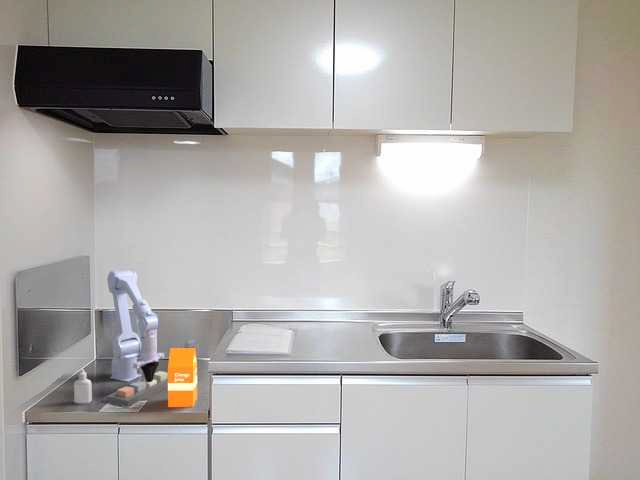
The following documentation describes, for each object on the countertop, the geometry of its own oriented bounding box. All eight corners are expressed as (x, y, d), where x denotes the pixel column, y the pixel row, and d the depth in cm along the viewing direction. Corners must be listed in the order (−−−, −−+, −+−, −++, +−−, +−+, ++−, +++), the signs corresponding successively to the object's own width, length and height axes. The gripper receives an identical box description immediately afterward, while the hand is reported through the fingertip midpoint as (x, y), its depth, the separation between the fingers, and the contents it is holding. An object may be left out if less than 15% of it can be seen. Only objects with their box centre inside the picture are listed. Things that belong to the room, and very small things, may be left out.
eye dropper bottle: (82, 406, 168) (81, 372, 167) (72, 402, 171) (72, 369, 170) (93, 401, 172) (93, 369, 171) (84, 398, 175) (83, 366, 174)
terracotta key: (117, 396, 173) (117, 390, 173) (125, 392, 177) (125, 386, 176) (125, 398, 171) (125, 391, 171) (134, 394, 175) (134, 388, 175)
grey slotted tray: (106, 401, 172) (106, 396, 172) (157, 377, 196) (157, 373, 196) (128, 406, 169) (127, 400, 168) (176, 381, 192) (176, 377, 192)
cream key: (141, 388, 184) (141, 382, 184) (149, 384, 188) (149, 378, 188) (149, 390, 183) (149, 383, 182) (157, 386, 186) (157, 380, 186)
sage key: (152, 380, 190) (152, 374, 189) (159, 377, 193) (159, 371, 193) (160, 382, 188) (160, 375, 188) (167, 378, 192) (167, 372, 192)
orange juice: (172, 398, 176) (172, 345, 175) (197, 398, 177) (197, 345, 176) (167, 407, 169) (167, 351, 167) (193, 406, 169) (193, 351, 168)
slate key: (129, 391, 179) (129, 384, 178) (137, 387, 182) (137, 380, 182) (138, 392, 177) (138, 386, 177) (145, 389, 181) (145, 382, 180)
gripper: (143, 353, 176) (143, 389, 177) (170, 343, 189) (170, 376, 190) (128, 350, 179) (129, 386, 180) (156, 341, 192) (156, 374, 193)
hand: (149, 381), depth 185 cm, fingers closed, pressing on cream key
